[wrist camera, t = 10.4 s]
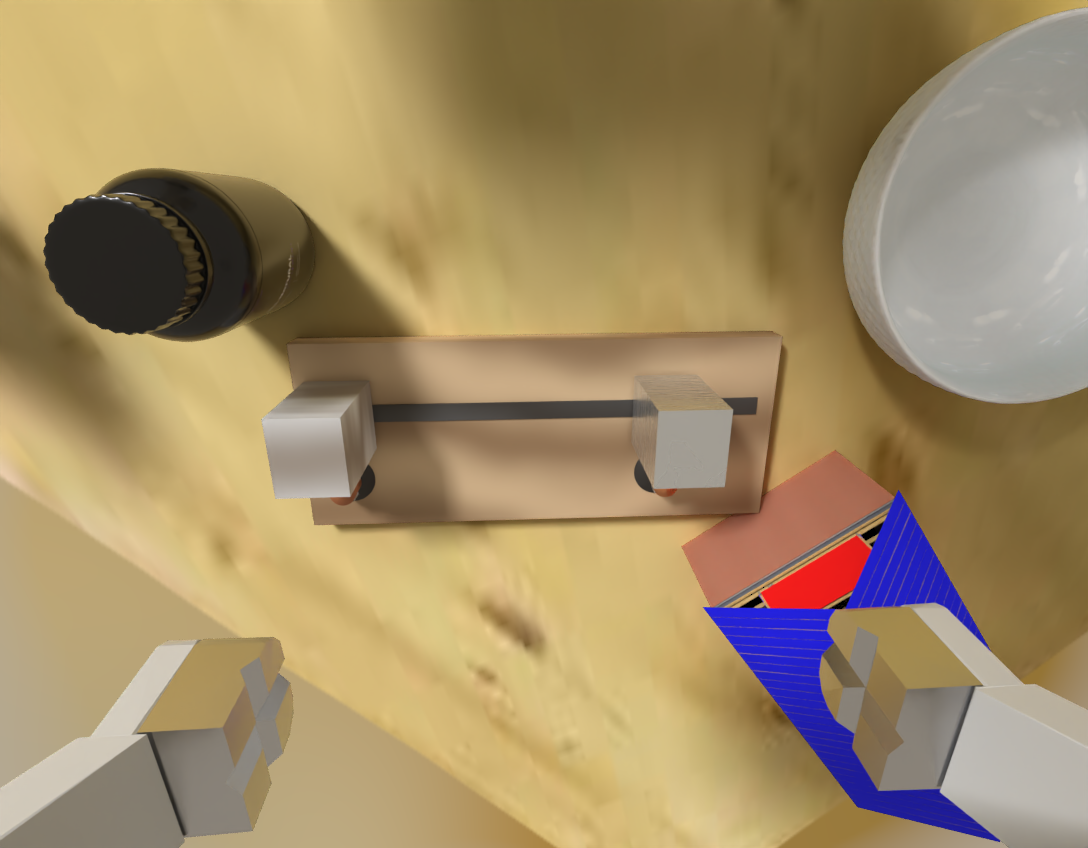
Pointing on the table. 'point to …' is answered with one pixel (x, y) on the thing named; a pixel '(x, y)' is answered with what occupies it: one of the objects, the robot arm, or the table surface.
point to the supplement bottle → (179, 253)
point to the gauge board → (505, 425)
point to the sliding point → (680, 432)
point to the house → (824, 605)
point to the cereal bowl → (983, 221)
